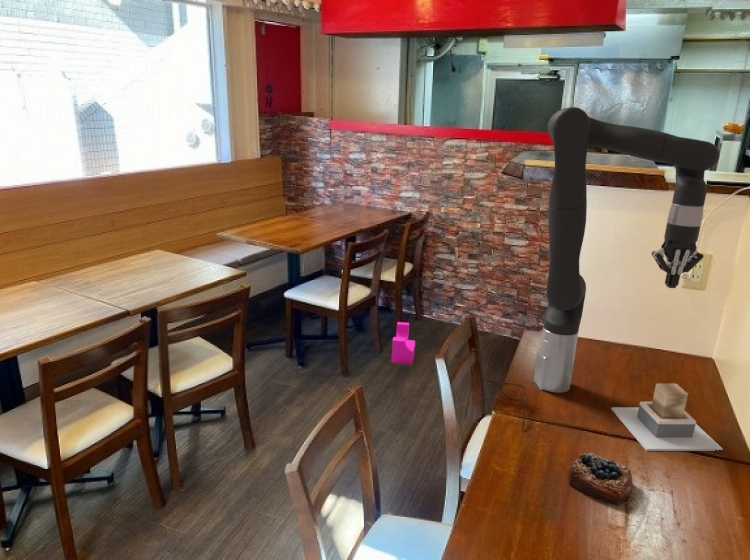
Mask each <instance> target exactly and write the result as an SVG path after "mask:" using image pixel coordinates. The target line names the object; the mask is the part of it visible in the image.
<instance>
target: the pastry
mask: <svg viewBox="0 0 750 560" xmlns="http://www.w3.org/2000/svg"><path fill="white" fill-rule="evenodd" d="M568 483H569V484H568V485H569V486H570V487H572V488H574V489H576V490H577V491H580V492H582V493H583V494H586V495H589V496H592V497H594V498H596V499H597V500H599V501H603V502H606V503H609V504H611V505H614V506H617V507H618V506H619V505H620V504H623V503H624V502H625V501H626V499H627V498H628V497H629V496H630V494H631V493H632V491H633V490H632V489H633V476H632V473H631V469H630V468H628V467H627V466H626V465H624V464H621V463H618V462H615V461H614V460H608V459H606V458H605V457H602V456H599V455H596V454H595V453H591V452H590V451H589V452H586V451H585V453H581V454H579V456H578V457H577V458H576V459H575V460H574V461H573V462H572V464H571V465H570V469H569V472H568Z"/></svg>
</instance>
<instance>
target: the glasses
mask: <svg viewBox="0 0 750 560" xmlns="http://www.w3.org/2000/svg"><path fill="white" fill-rule="evenodd" d="M477 380H479V381H480V380H481V381H486V382H491V383H492V384H494V388H493V389H492V391H490V392H487V393H478V392H476V391H475V389H474V382H475V381H477ZM495 383H497V384H495ZM498 383H499V384H498ZM501 384H502V385H501ZM505 385H514V386H518V387H521V388H523V395H522V396H521V397H520V398H517V399H516V398H512V397H509V396H507V395H506V394H505V393H504V391H503V389H502V387H503V386H505ZM497 386H500V391H501V393H502V394H503V395H504V396H505V397H507V398H508V399H509V400H512V401H519V400H521V399H522V398H523V416H522V429H521V430H522V431H524V429H525V428H524V427H525V414H526V411H525V410H526V389H525V387H524V386H523V385H522V384H517V383H510V382H501V381H493V380H490V379H485V378H475V379H474V380H473V381H472V382H471V385H470V389H469V393H468V397H467V404H466V407H465V413H464V420H466V419H467V414H468V407H469V402H470V396H471V393H472V390H473V391H475V393H476V394H477V395H480V396H485V395H486V396H487V395H490V394H491V393H493V392H494V391H495V389H496V387H497Z"/></svg>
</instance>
